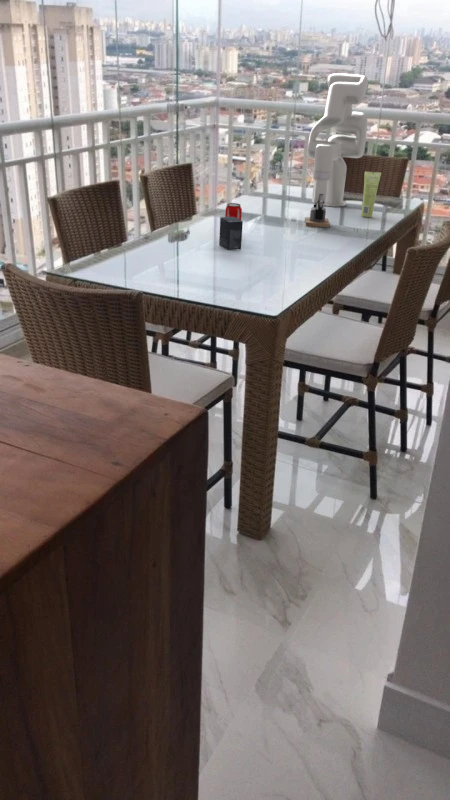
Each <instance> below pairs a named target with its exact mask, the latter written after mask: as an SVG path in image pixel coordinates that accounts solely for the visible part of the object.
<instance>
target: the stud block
mask: <svg viewBox="0 0 450 800" xmlns="http://www.w3.org/2000/svg"><path fill="white" fill-rule="evenodd" d="M304 223H305V227H315V228H316V227H317V228H318V227H319V228H330V226H331V225H330V224H331V223H330V220H329V218H326V217H325V221H324V222H313V221H310V216H308V217H307V216H305V217H304Z"/></svg>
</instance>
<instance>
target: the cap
mask: <svg viewBox="0 0 450 800" xmlns="http://www.w3.org/2000/svg"><path fill="white" fill-rule="evenodd" d="M310 209H311V210H310V213H309V217H310V221H313V222H324V221H325V218H326V213H327V211H326V210H327V209H326V208H325V207H323V210H324V211H323V219H322V220H319V219H315V213H316V209H317V207H314V206H312V207H311V208H310Z"/></svg>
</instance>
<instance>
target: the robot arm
mask: <svg viewBox="0 0 450 800" xmlns="http://www.w3.org/2000/svg"><path fill="white" fill-rule="evenodd" d="M326 82H327V87H328V93H327V97H326V101H325V108H324V113H323V117H321V118H320V119H319V120H318V121H317V122H316V123H315V124H314V126H313V127H312V128H311V130H310V131H309V132H310V133H309V136H308V142H307V145H306V155H307V157H308V158H309V159H312V160H314V161H313V162H314V163H313V171H312V180H314V182H313V190H312V195H311V196H312V197H311V201H312V203H313V207H317V209H316V213H315V219H319V220H322V219H323V211H324V210H323V208H324V206H326V207H331V208H332V207H333V208H338V207H339V208H341V207H345V206H346V204H347V202H346V201H344V193H345V184H346V179H347V178H346V177H347V169H348V168H347V167H348V166H347V164H346V162H345V160H344V158H350V159H359V158H362V157H363V156H364V154H365V150H366V140H367V130H368V116H367V114H366V113H365V112H362V111H353V105H357V106H358V105H361V103H362V101H363V100H364V98H365V95H366V93H367V91H368V85H369V81H368V77H367V76H366V75H364V74H355V73H341V72H337V73H334V72H333V73H331V74H329V75H328V76H327V81H326ZM330 128H331V129H332V131H333V132H335V133H339V134H333V135H331V136H330V137H328V139H327V140H317V137H318V135H320V134H321V133H322V132H324V131H327V130H328V129H330ZM345 134H346V135H345ZM348 134H350V135H348Z"/></svg>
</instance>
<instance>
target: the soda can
mask: <svg viewBox="0 0 450 800" xmlns="http://www.w3.org/2000/svg"><path fill="white" fill-rule="evenodd" d="M242 212H243V211H242V206H241V204H240V203H235V202H228V203H227V205H226V206H225V214H224V215H225V216H224V217H235V218H237V219H239V220H241V221H242V215H243V214H242Z"/></svg>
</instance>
